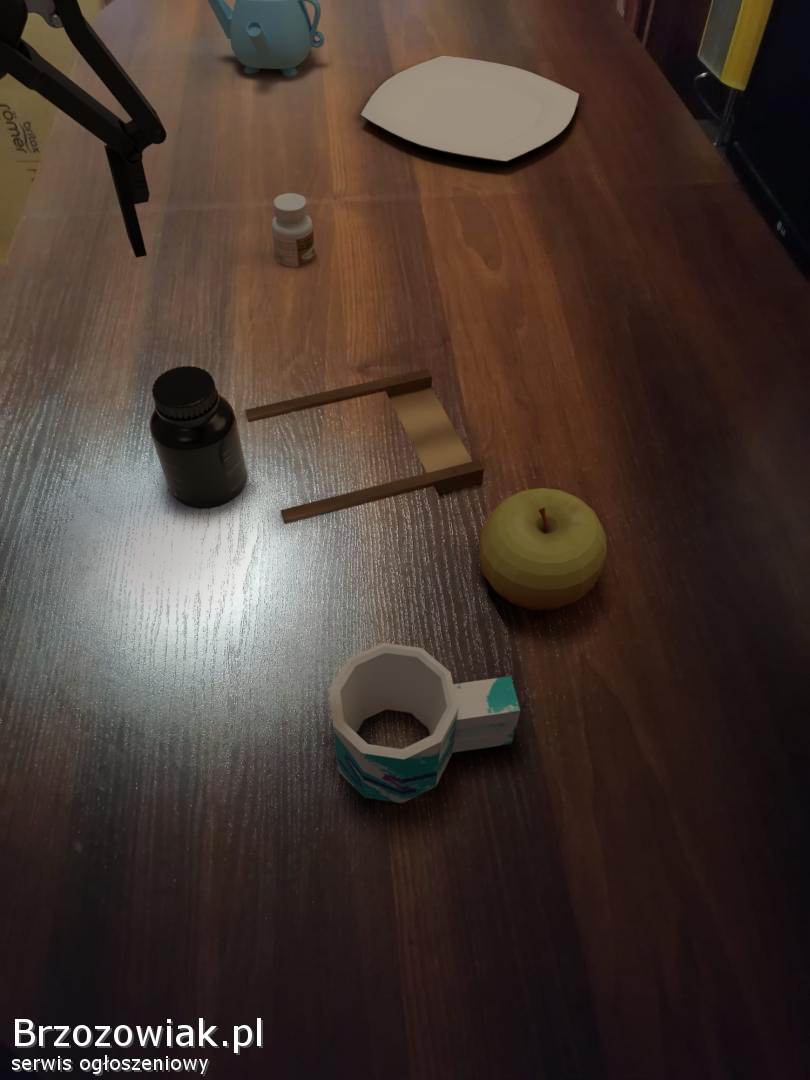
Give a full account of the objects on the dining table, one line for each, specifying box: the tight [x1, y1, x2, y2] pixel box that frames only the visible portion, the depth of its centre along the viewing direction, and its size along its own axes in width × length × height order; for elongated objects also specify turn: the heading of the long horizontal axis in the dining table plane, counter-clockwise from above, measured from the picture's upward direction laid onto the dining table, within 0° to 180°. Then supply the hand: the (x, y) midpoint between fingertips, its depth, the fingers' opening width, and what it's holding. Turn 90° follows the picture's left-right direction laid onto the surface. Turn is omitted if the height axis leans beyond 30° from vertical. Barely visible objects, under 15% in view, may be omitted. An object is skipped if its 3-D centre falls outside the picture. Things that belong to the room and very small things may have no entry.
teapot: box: [207, 0, 325, 77], centre depth 124 cm, size 15×14×11 cm
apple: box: [478, 487, 608, 611], centre depth 67 cm, size 10×10×8 cm
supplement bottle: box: [149, 365, 248, 510], centre depth 71 cm, size 7×7×12 cm
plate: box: [360, 55, 580, 163], centre depth 118 cm, size 27×27×2 cm
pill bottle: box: [271, 192, 316, 268], centre depth 93 cm, size 4×4×8 cm
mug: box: [328, 642, 521, 804], centre depth 57 cm, size 8×12×8 cm
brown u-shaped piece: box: [244, 368, 485, 524], centre depth 78 cm, size 14×18×2 cm
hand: (35, 267), depth 58 cm, fingers open, 13 cm apart
